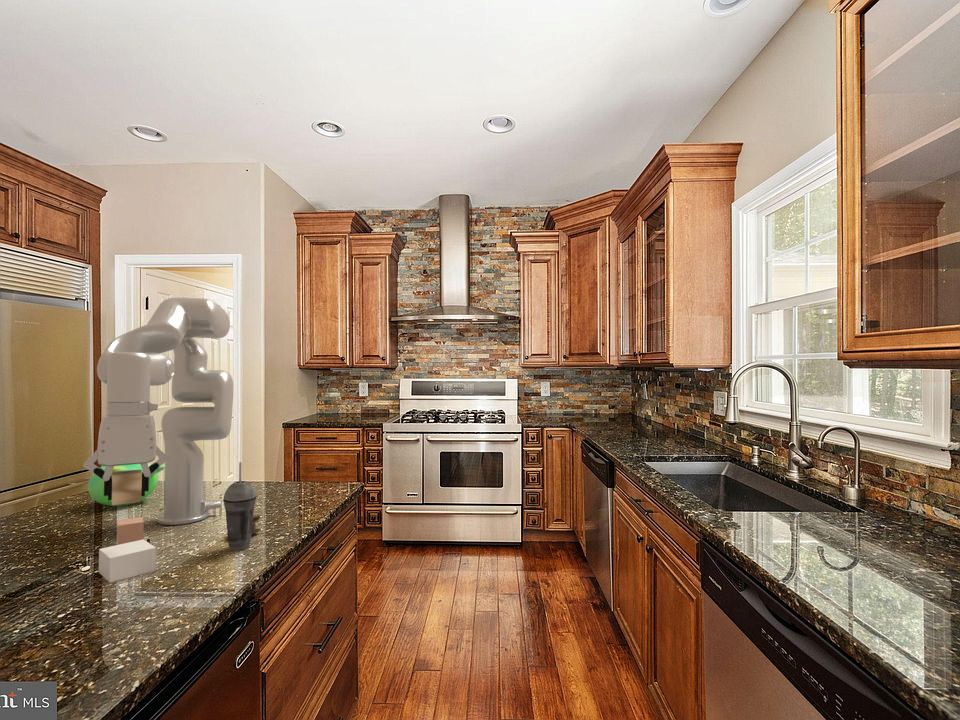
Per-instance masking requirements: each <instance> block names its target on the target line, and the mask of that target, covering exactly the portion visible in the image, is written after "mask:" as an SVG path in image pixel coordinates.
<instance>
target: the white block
mask: <svg viewBox="0 0 960 720" xmlns="http://www.w3.org/2000/svg"><path fill="white" fill-rule="evenodd" d="M156 550H157V547H156V546H154V545H152V544H151V543H149V542H148V541H146V540H145V539H144V538H143V540H138V541H134V542H129V543H125V544H120V545H117V544H115V545H111V546H106V547H103V548H98V573H99V574H100V575H101V576H102V577H103V579H105V580H106V581H107V582H108V583H114V582H118V581H121V580H125V579H129V578H133V577H136V576H140V575H145V574H149V573H152V572H155V571H156V564H157V563H156V561H157V557H156V555H157V551H156Z"/></svg>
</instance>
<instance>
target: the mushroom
mask: <svg viewBox="0 0 960 720" xmlns="http://www.w3.org/2000/svg"><path fill="white" fill-rule="evenodd" d="M260 518H261V515H260V514H259V513H257V512H254V513H253V522H252V532H251V536H252V535H255V534H257V533H259V532H260V531H261V528H259V527H257V525H256V523H257V522H258V521H259V520H260Z"/></svg>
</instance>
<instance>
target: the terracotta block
mask: <svg viewBox="0 0 960 720" xmlns="http://www.w3.org/2000/svg"><path fill="white" fill-rule="evenodd" d="M143 518H144V517H143V516H140V517H134V518H133V517H132V518H127V519H119V520H117V522H116V523H117V524H116V526H117V528H116V529H117V530H116V545H120V544H125V543H129V542H134V541H138V540H143V539H144V526H145V525H144V524H145V523H144V519H143Z"/></svg>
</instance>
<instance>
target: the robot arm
mask: <svg viewBox="0 0 960 720" xmlns="http://www.w3.org/2000/svg"><path fill="white" fill-rule="evenodd" d="M230 328H231V321H230V317H229V314H228V312H226V310H225V308H224V307H222V306H221V305H220V304H218V303H217V302H216V301H215V300H211V299H210V298H209V299H208V298H201V297H200V298H198V297H169V298H167V299H166V298H165V299H164V300H163V301H162V302H161V303H160V304H159V305H158V306H157V308H156V309H155V311H154V313H153V314H152V316H151V317H150V319H149V321H148V322H147V324H145V325H142V326H140V327H139V326H138V327H137V328H135V329H132V330H130V331H128V332H125V333H123V334H121V335H118V336H117V337H115V338H113V340H112V341H110V342H109V344H108V345H107V346H106V348H105V350H103V352H102V354H101V355H100V357H99V359H98V362H97V366H96V374H97V377H98V379H99V380H100V381H101V382H102V383H103V384H106V416H105V417H102V418H101V421H100V425H99V430H98V438H97V449H96V450H95V451H94V453H93V454H91V456H90V457H88V459H87V460H86V461H84V463H83V465H82V466H83V468H84V469H86V470H88V471H89V472H91V473H94V474H96V475H97V476H99V477H100V478H101V479H103V481H104V496H108V500H111V499H112V476H111V473H112V471H113V468H114V466H119V465H131V464H141V467H142V470H143V473H142V490H141V496H145V491H149V476H150V475H151V474H152V473H153V472H154V471H155V470H156V469H157V468H158V467H159V466H161V465H164V466H165V468H164V484H163V485H164V487H163V489H164V492H163V513H162V514H160V515H159V516H158V517H157V518H156V522H157V523H158V524H159V525H164V526H165V525H167V526H174V525H175V526H176V525H186V524H190V523H191V524H192V523H196V522H200V521H203V520H205V519H206V518H208V517H209V514H210V512H209V510H212V509H213V510H215V509H221V508H222V501H214V500H212V501H211V500H210V501H205V499H204V454H203V450H201V448H200V446H198V444H197V442H198V441H217V440H218V441H219V440H224V439H226V438H228V437H229V435H230V433H231V429H232V422H233V421H232V420H233V419H232V417H233V404H234V403H233V402H234V380H233V376H232V375H231V374H230V372H228V371H226V370H221V369H208V356H209V355H208V352H207V350H206V349H205V348H204V347H203V346H202V344H201V343H200V342H199V341H198V340H197V339H199V338H200V339H222V338H224V337H226V336H227V335H228V333H229V331H230ZM169 351H170V352H171V351H173V355H174V356H173V360H172V359H171V357H169V356H168V355H166V354H165V353H166V352H169ZM171 379H172V380H171ZM170 381H171V396H172V398H173V400H174V401H177V402H178V403H186V404H187V403H188V404H189V403H191V404H192V403H195V404H197V403H198V404H200V403H203V404H204V403H207V404H208V403H211V404H214V406H179V407H178V406H177V407H173V408H171V409H168V410H167V411H165V412H164V414H163V415H162V418H161V423H160V424H161V432H162V437H163V443H164V452H163V451H162V450H161V449H160V448H159V447H158V446H157V435H156V434H157V433H156V432H157V431H156V423H155V418H154V415H150V414H151V413H152V412H154V411H158V410H159V408H158V406H159V405H158V403H157V404H156V403H152V402H151V401H150V400H151V386H154V387H156V386H163V385H165V384H167V383H169V382H170ZM195 441H197V442H195ZM156 457H158V459H157V460H156ZM155 460H156V461H155ZM96 461H97V463H98V465H100V466H97V465H96V464H95V463H96ZM151 462H153V463H152V464H150V463H151ZM147 463H149V464H150V465H151V466H149V467H148V464H147ZM102 466H106V468H105V471H104V470H102V469H101V468H100V467H102Z"/></svg>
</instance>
